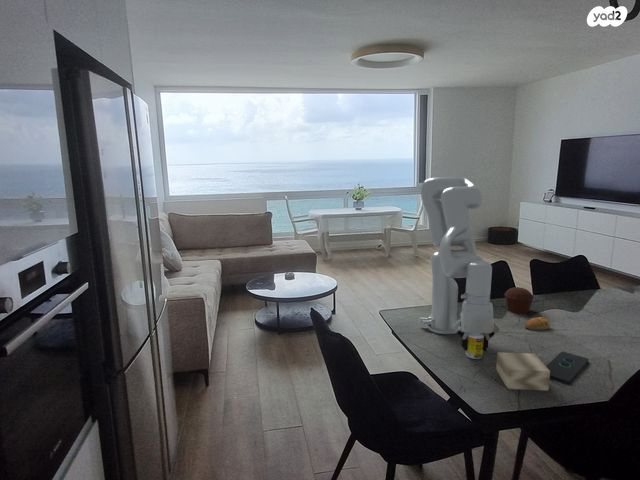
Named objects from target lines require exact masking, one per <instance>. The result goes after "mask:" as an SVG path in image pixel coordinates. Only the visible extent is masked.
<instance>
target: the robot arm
mask: <svg viewBox="0 0 640 480" xmlns="http://www.w3.org/2000/svg"><path fill="white" fill-rule="evenodd" d="M420 186H421V187H420V197H421V201H422V204H423V207H424V208H425V210H426V213H427V214H426V215H427V220H428V227H429V233H430V240H431V243H432V244H433V246H434V247H437V248H438V249H439V250H437V251H435V252H433V254H432V255H431V256H430V267H431V276H432V277H431V278H432V280H431V282H432V283H431V285H432V286H431V288H432V289H431V290H432V291H431V314H429V316H427V317H420V316H419V318H418V320H419V323H422V324H423V325H426V328H427V329H428V330H429V331H430V332H433V333H436V334H440V335H454V334H457V335H459V337H460V338H461V339H460V340H461V341H460V342H461V343H460V346H461V348H462V349H463V350H464V352H465V351H466V350H467V335H468V333H483V334H484V344H483V352H487V349H489V341H490V340H491V338H493V337H494V336H495V335H496V334H497V333H498V332H500V330H501V329H500V328H499V326H498V325H497V324H496V323H495V321H494V320H495V319H494V306H493V303H492V302H491V289H492V287H491V286H492V274H493V265H492V264H491V263H490V262H488V261H485V260H484V259H483V257H482V256H479V255H478V254H477V248H476V242H475V237H474V232H473V229H472V227H473V226H472V225H473V224H472V219H471V217H470V216H471V215H470V211H469V210H477V209H479V208H480V207H481V205H482V203H483V196H482V192H481V190H480V188H479V187H478V186H477V185H476V184H475V183H474V182H472V181H471V180H469V179H468V178H466V177H464V176H436V177H430V178H427V179H425V180H424V181H423V182H422V183H421V185H420ZM456 247H458V249H451V248H456ZM462 278H463V279H464V278H466V280H465V281H466V283H465V291H464V294H461V295H460V298H461V299H463V301H462V304H461V309H460V314H459V320H457V317H458V316H457V315H458V294H459V286H458V283H457V282H456V280H455V279H462Z"/></svg>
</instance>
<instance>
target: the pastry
mask: <svg viewBox="0 0 640 480" xmlns="http://www.w3.org/2000/svg"><path fill="white" fill-rule="evenodd" d="M524 328H525V329H526V328H527V329H528V330H532V331H543V330H548V329H550V328H551V324H550V322H549V319H547V318H546V317H544V316H542V317H541V316H539V317H532V318H530V319H529V320H527V321H526V322H525V323H524Z"/></svg>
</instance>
